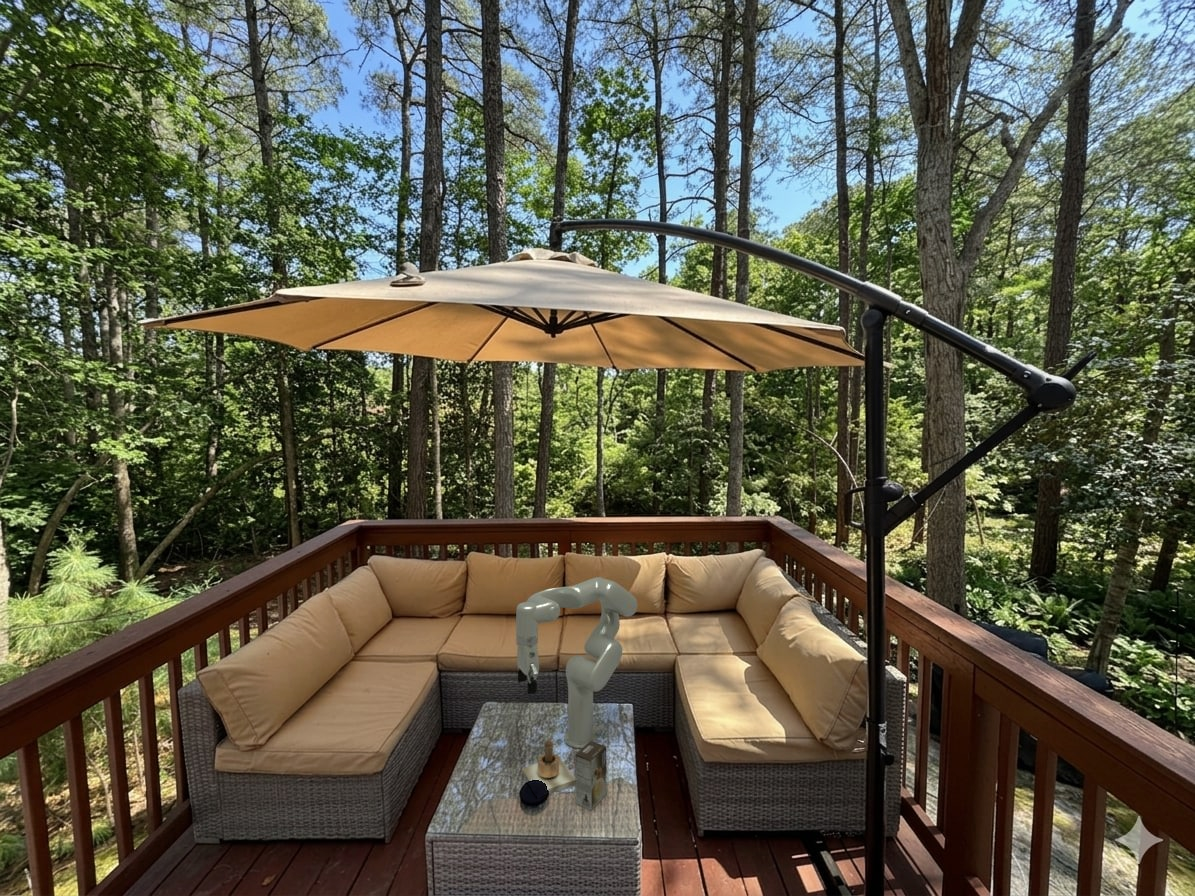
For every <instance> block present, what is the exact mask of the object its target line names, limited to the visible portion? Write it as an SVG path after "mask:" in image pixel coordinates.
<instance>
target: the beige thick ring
mask: <svg viewBox="0 0 1195 896" xmlns="http://www.w3.org/2000/svg"><path fill="white" fill-rule="evenodd" d="M559 757H560V756H559V755H558V754H556V753H554V752H553V762H552V763H545V753H542V754H541V755H540V756H538V759H537V763H538V773H539V775H540V776H542V777H544V778H551V777H554V776H556V775H557V774H558V773H559Z"/></svg>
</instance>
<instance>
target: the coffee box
mask: <svg viewBox="0 0 1195 896" xmlns="http://www.w3.org/2000/svg"><path fill="white" fill-rule="evenodd" d="M575 778H576V786H575V804H576V805H578V806H581V807H583V808H585V809H587V810H590V811H593V810H594V809H595V807H597V805H599V803H600V802H601V801H602V799H604V798H605V797H606V795H608V794H607V780H608V778H607V745H604V744H601V743H598V742H593V741H590V742H589V743H587V744H586V745H585V746H584V747H583V748H580V749H579V750H578V751H577V753H576V754H575Z"/></svg>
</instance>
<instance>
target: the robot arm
mask: <svg viewBox="0 0 1195 896" xmlns="http://www.w3.org/2000/svg"><path fill="white" fill-rule="evenodd" d="M598 601H600V607H601V608H600V609H601V616H600V619H599V621H598V622H597V624H596V625H595V627H594V628H593V630H592V632H591V633H590V635H589V637H588V638H587V640H586V642H585V643H584V651H585V653H586V655H588V656H589V657H591V658H592V659H594V660H596V661H593V660H592V659H590V658H588V657H585V656H583V655H580V654H579V655H574V656H572V657H570V658H569V660H567V662H566V667H565V676H566V682H567V689H568V693H567V694H568V695H567V696H568V698H567V699H568V700H567V702H568V703H567V705H568V707H567V713H568V714H567V716H568V717H567V719H568V720H567V721H568V722H567V723H568V724H567V725H568V726H567V731H566V732H565V733H564V735H563V736H564V737H563V740H564V742H565V744H566V745H567V746H568V747H571V748H573V749H574V748H575V749H582V748H583V747H584V746H585V745H586V744H587V743H589V742H590V741H593V742H595V743H597V742H598V741H597V740H598V734H597V733H598V732H601V731H604V730H605V725H604V724H603V723H602V724H599V723H598V722H595V723H594V693H595V692H600V691H601V690H602V689H604V688H605V686H606V685H607V683H608V681H610V678H611V677H612V675H613V674H614V672H615V671H616V668H617V667H618V666H619V664H620V662H621V660H622V657H623V647H622V644H621V642H620V641H618V640H617V639H615V638H616V636H617V634H618V633H619V630H620V625H621V623H620V615H621V616H623V617H631V616H633V615H635V614H636V612H637V610H638V601H637V598H636V596H634V595H633V594H632V593H631V592H630V591H628V590H627V589H625V588H624V586H622V585H620V584H619V583H617V582H616V581H613V580H611V579H606V578H604V577H599V576H598V577H597V576H596V577H592V578H590V579H588V580H585V581H582V582H579V583H577V584H575V585H574V584H573V585H570V586H563V587H562V586H560V587H554V588H553V587H552V588H547V589H544V590H541V591H537V592H536V593H533V594H532V595H530V596H529V597H528V598H527V599H526V601H524V602H521V603H519V604H518V605H517V606H516V611H515V612H516V614H515V615H516V616H515V617H516V619H515V620H516V622H515V623H516V627H515V629H516V634H515V635H516V636H515V637H516V639H515V640H516V641H515V642H516V645H517V653H516V655H517V656H516V657H517V658H516V662H517V682H518V683H522V682H526V681H527V694H528V695H533V694H536V693H537V692H538V674H539V673H540V662H539V660H540V659H539V648H538V643H539V624H542V623H543V624H544V623H552V622H554V621H555V620H558V618H559V617H560V615H561V608H565V609H580V608H583V607H584V606H587V605H590V604H592V603H594V602H595V603H596V602H598Z"/></svg>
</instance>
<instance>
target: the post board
mask: <svg viewBox="0 0 1195 896" xmlns="http://www.w3.org/2000/svg"><path fill="white" fill-rule="evenodd" d="M553 745H554V743H553V741H551V740H550V739H548V740H546V741H545V743H544V754H545V763H552V762H553V753H554V751H553V749H554V747H553ZM558 757H559V773H558V774H557V775H556V776H554V777H551V778H544V777H542V776H540V775H539V773H538V762H537V763H534V764H531V765H528V766H525V767H522V768H521V775H522V777H523V778H524V780H525V781H532V780H539V781H542V782H543V783H545V784H546V786H547V790H548V791H549V793H550V795H553V794H555V793H554V792H556V793H558V792H562V791H564V790H567V789H570V788H572V787H576V776H574V774H573V773H572V772H571V770H570V769H569V767H567V765H566V764H565V762H564V761H563V760H562V759H561V757H560V756H558ZM561 790H562V791H561ZM552 793H553V794H552Z"/></svg>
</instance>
